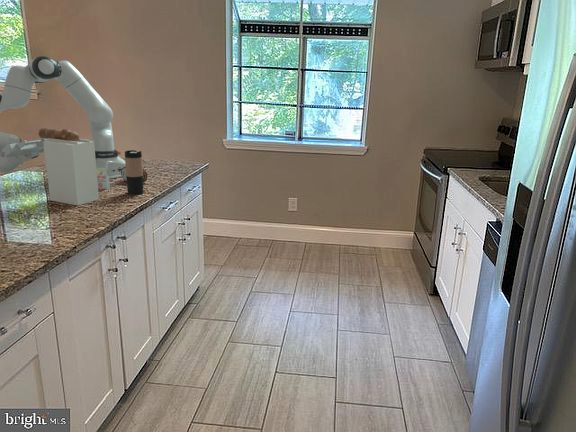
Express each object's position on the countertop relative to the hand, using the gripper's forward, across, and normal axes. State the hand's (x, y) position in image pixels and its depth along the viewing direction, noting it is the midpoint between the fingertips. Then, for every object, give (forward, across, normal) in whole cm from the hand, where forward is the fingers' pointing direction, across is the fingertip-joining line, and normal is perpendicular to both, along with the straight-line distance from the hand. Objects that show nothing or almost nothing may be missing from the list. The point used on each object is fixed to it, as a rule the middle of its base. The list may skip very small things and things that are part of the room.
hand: (36, 140), depth 198 cm
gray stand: (+4, 0, +31) cm, 31 cm away
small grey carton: (0, +21, +29) cm, 36 cm away
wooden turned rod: (+13, 0, +6) cm, 15 cm away
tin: (+4, +39, +31) cm, 50 cm away
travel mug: (+17, +23, +38) cm, 48 cm away
